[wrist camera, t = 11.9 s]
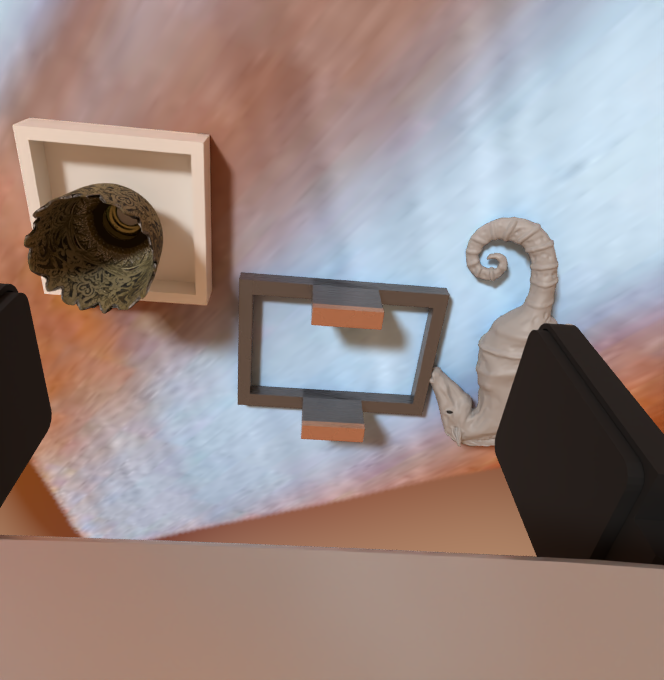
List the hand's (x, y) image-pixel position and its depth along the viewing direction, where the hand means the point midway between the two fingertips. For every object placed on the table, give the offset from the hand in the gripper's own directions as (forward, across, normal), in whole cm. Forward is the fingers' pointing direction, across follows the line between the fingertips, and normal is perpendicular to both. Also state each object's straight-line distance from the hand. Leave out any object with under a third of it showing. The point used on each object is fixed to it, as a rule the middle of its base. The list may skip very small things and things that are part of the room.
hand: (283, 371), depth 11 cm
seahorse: (+31, -16, +16) cm, 38 cm away
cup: (+30, +12, +8) cm, 33 cm away
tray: (+30, +12, +8) cm, 34 cm away
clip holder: (+30, -4, +18) cm, 35 cm away
